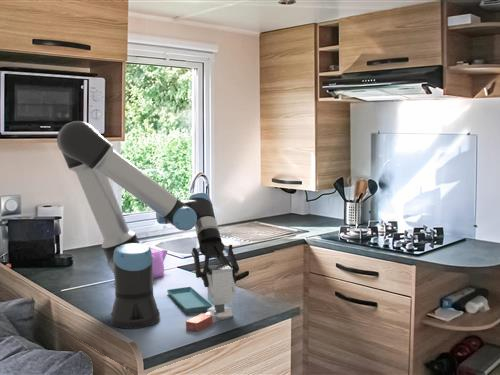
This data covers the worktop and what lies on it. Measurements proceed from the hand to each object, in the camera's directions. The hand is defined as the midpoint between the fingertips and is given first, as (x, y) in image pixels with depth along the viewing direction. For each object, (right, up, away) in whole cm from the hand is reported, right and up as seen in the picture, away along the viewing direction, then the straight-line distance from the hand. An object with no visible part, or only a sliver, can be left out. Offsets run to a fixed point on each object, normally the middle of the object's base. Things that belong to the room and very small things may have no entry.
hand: (223, 293), depth 183 cm
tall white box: (-1, -3, +4) cm, 5 cm away
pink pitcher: (-35, -3, +57) cm, 67 cm away
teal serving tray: (-13, -7, +20) cm, 25 cm away
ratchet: (-4, -8, -1) cm, 9 cm away
